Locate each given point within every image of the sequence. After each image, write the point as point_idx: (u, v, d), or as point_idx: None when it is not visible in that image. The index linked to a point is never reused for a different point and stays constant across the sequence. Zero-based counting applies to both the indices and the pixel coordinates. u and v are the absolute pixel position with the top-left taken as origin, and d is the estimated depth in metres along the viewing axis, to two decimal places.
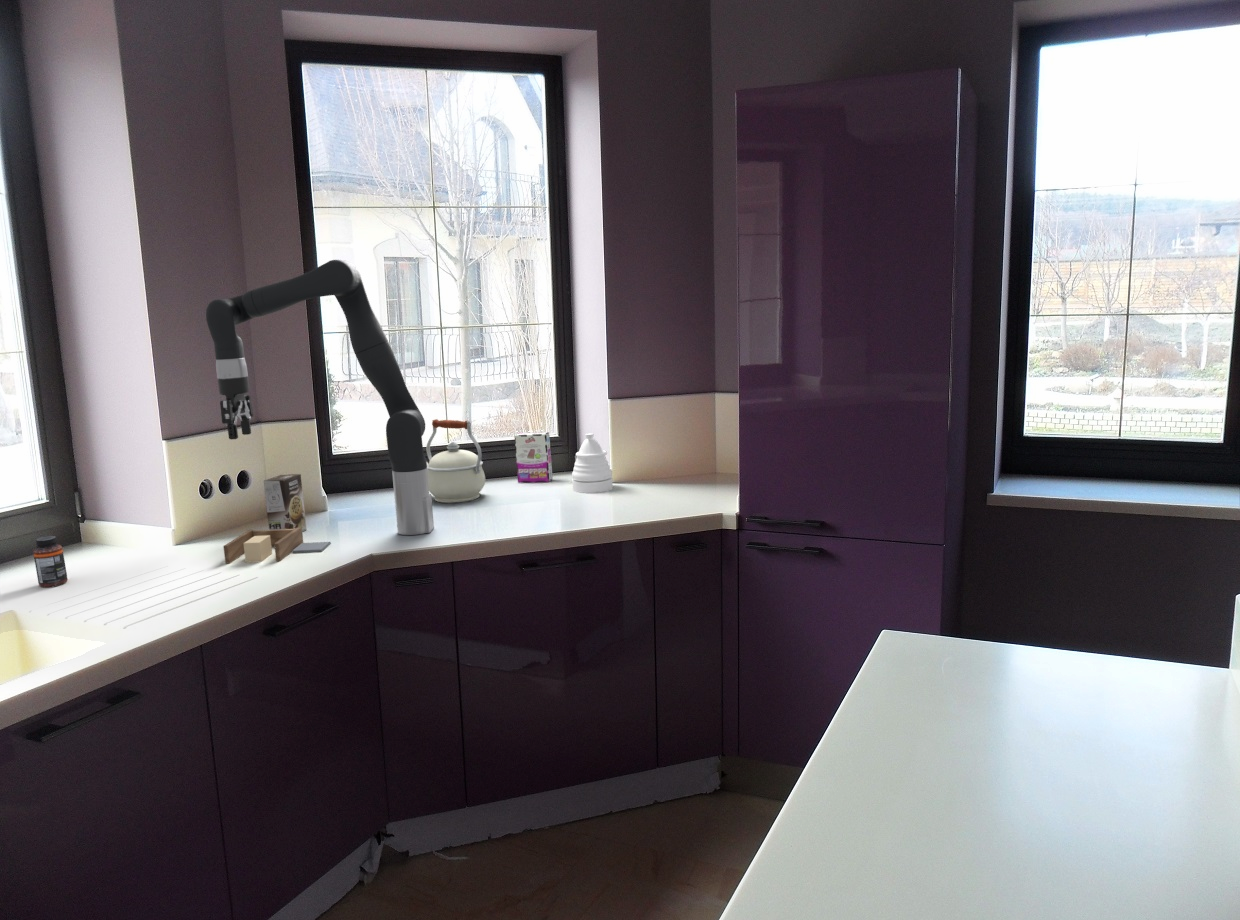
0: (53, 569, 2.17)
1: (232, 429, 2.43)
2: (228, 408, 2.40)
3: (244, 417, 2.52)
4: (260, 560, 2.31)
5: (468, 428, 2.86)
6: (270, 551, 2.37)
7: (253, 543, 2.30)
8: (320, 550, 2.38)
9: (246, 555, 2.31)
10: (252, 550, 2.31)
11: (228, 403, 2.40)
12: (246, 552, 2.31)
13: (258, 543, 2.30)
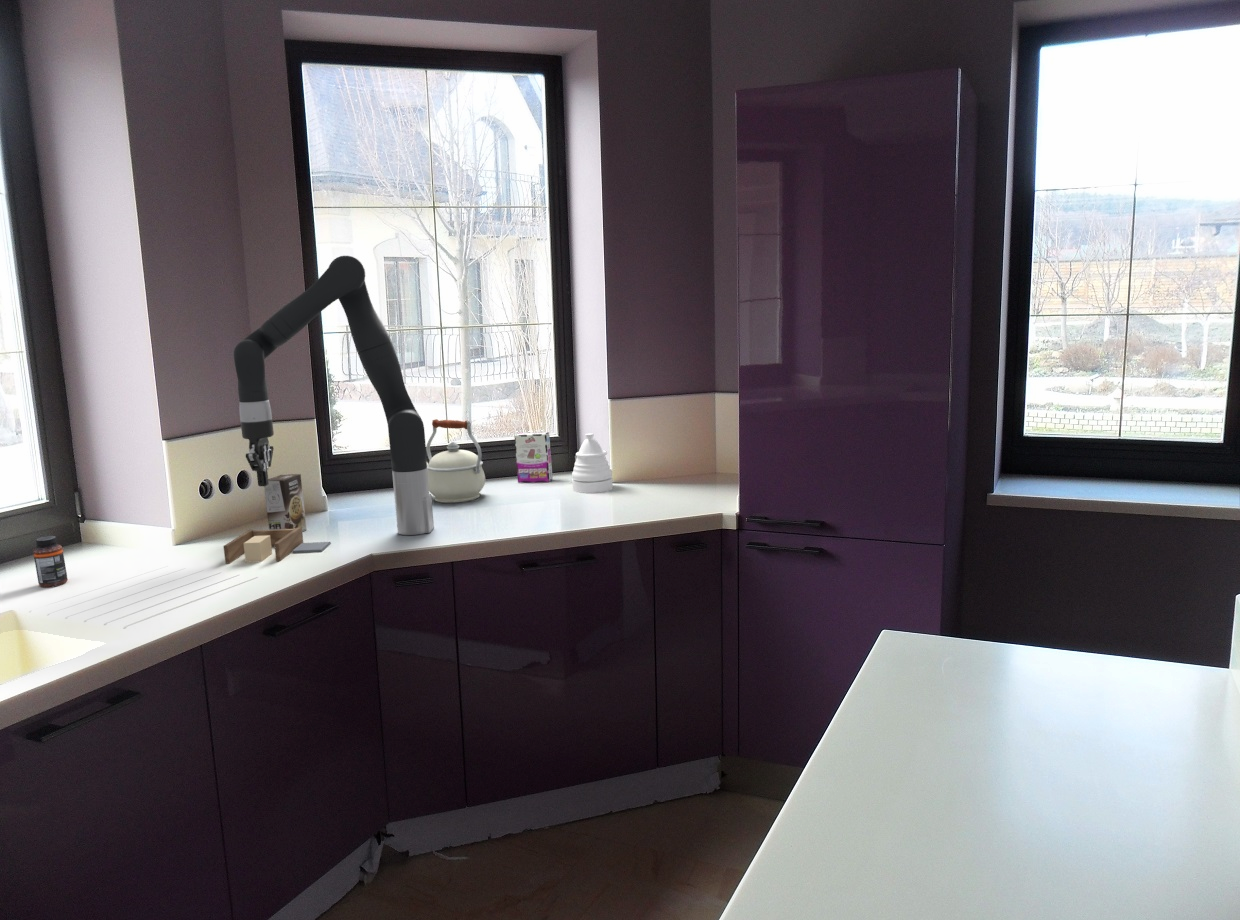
0: (53, 569, 2.17)
1: (262, 476, 2.38)
2: (256, 461, 2.33)
3: None
4: (260, 560, 2.31)
5: (468, 428, 2.86)
6: (270, 551, 2.37)
7: (253, 543, 2.30)
8: (320, 550, 2.38)
9: (246, 555, 2.31)
10: (252, 550, 2.31)
11: (254, 457, 2.32)
12: (246, 552, 2.31)
13: (258, 543, 2.30)
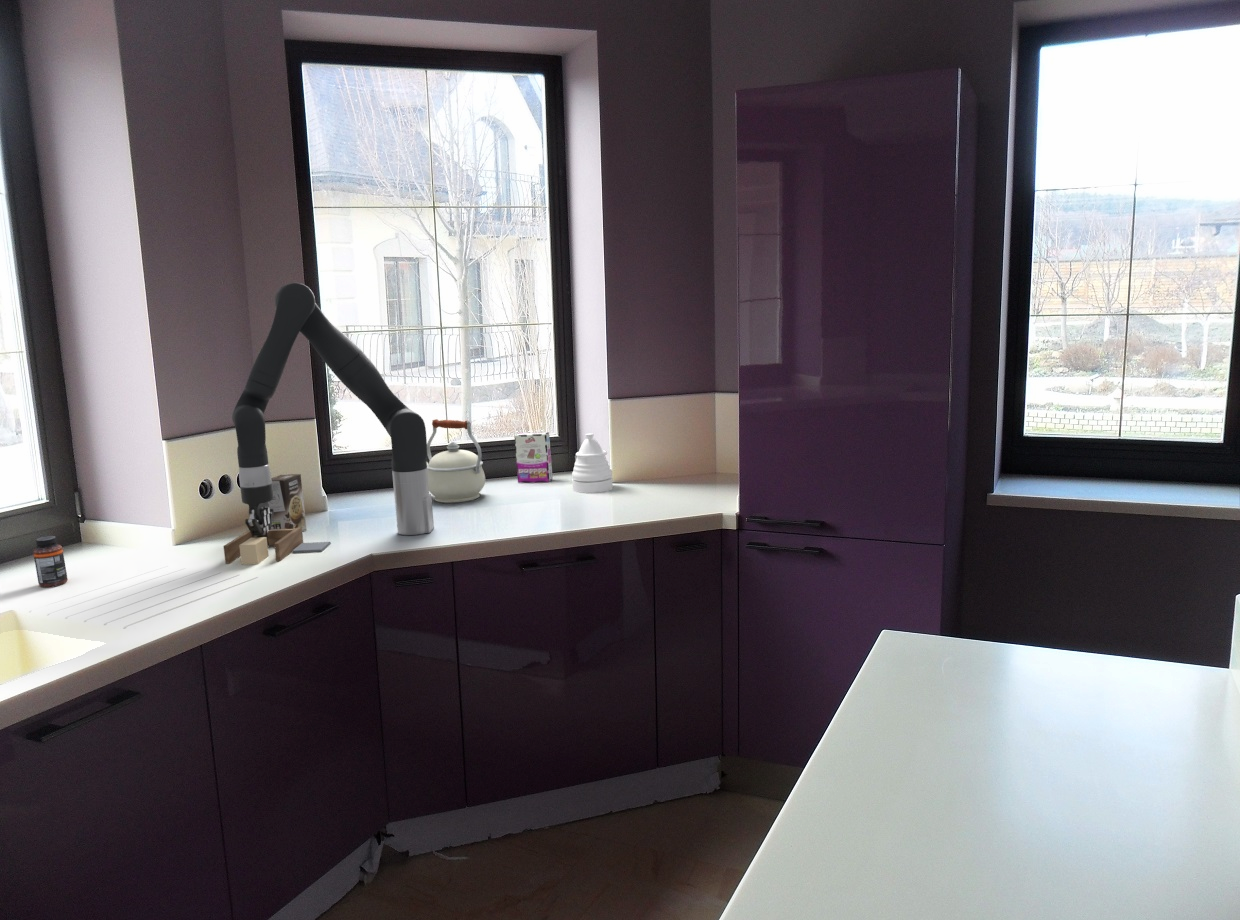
0: (53, 569, 2.17)
1: None
2: (255, 526, 2.32)
3: None
4: (256, 562, 2.29)
5: (468, 428, 2.86)
6: (266, 553, 2.35)
7: (249, 545, 2.28)
8: (320, 550, 2.38)
9: (242, 557, 2.29)
10: (248, 552, 2.28)
11: (254, 523, 2.31)
12: (242, 554, 2.28)
13: (254, 545, 2.28)
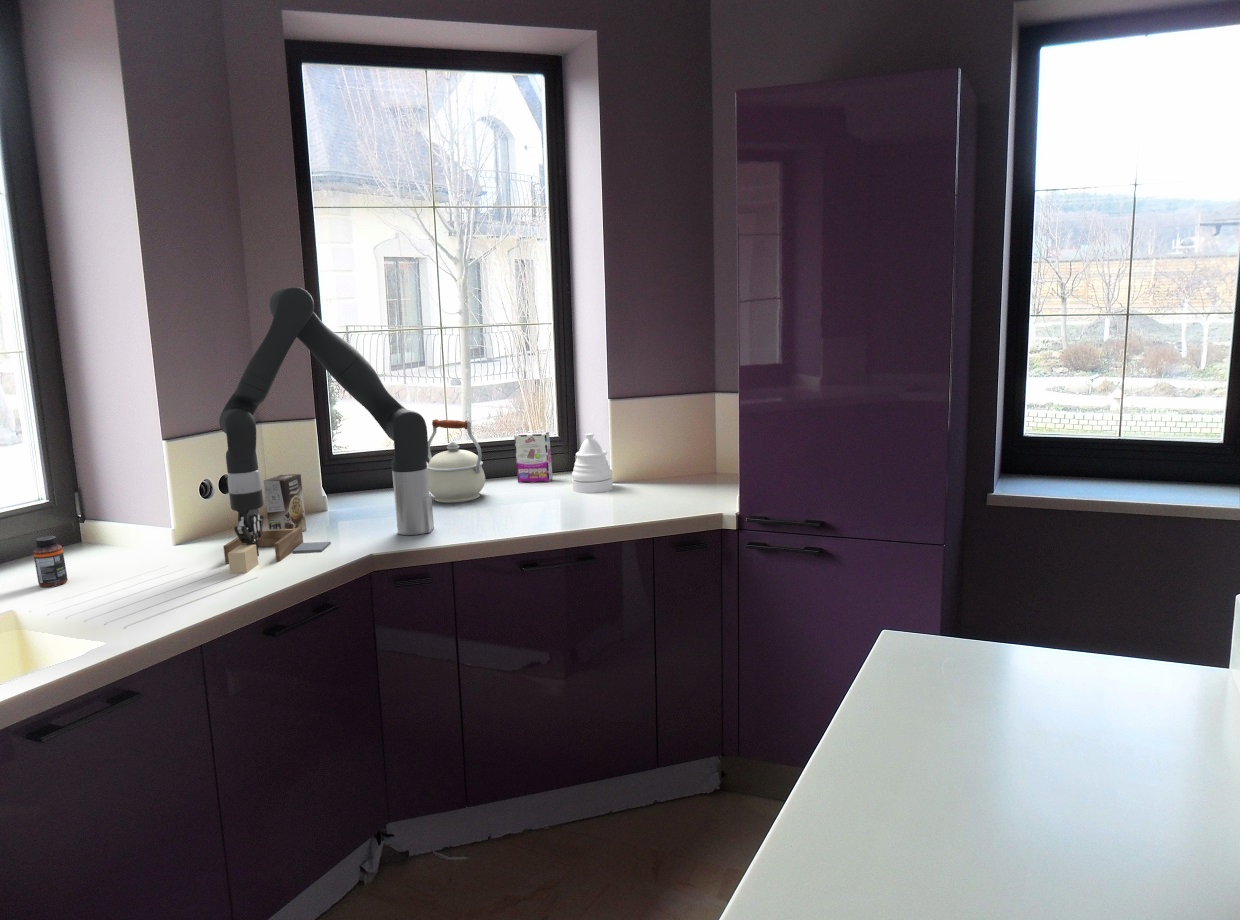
0: (53, 569, 2.17)
1: None
2: (245, 534, 2.25)
3: None
4: (245, 571, 2.22)
5: (468, 428, 2.86)
6: (256, 561, 2.28)
7: (238, 553, 2.21)
8: (320, 550, 2.38)
9: (230, 565, 2.21)
10: (237, 560, 2.21)
11: (243, 531, 2.24)
12: (230, 562, 2.21)
13: (243, 553, 2.21)
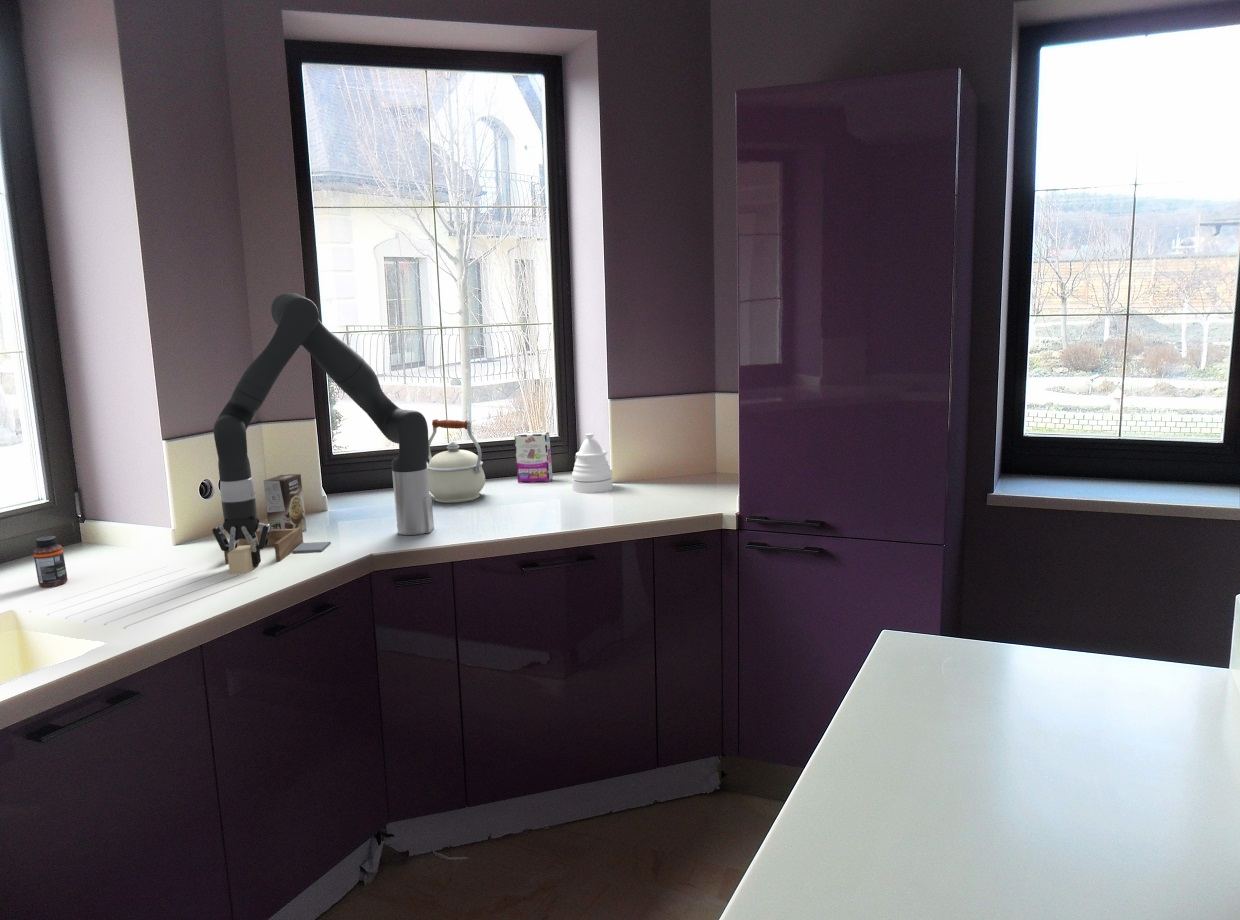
0: (53, 569, 2.17)
1: None
2: None
3: None
4: (245, 571, 2.22)
5: (468, 428, 2.86)
6: None
7: (237, 553, 2.21)
8: (320, 550, 2.38)
9: (230, 566, 2.21)
10: (236, 561, 2.21)
11: None
12: (230, 563, 2.21)
13: (243, 553, 2.21)
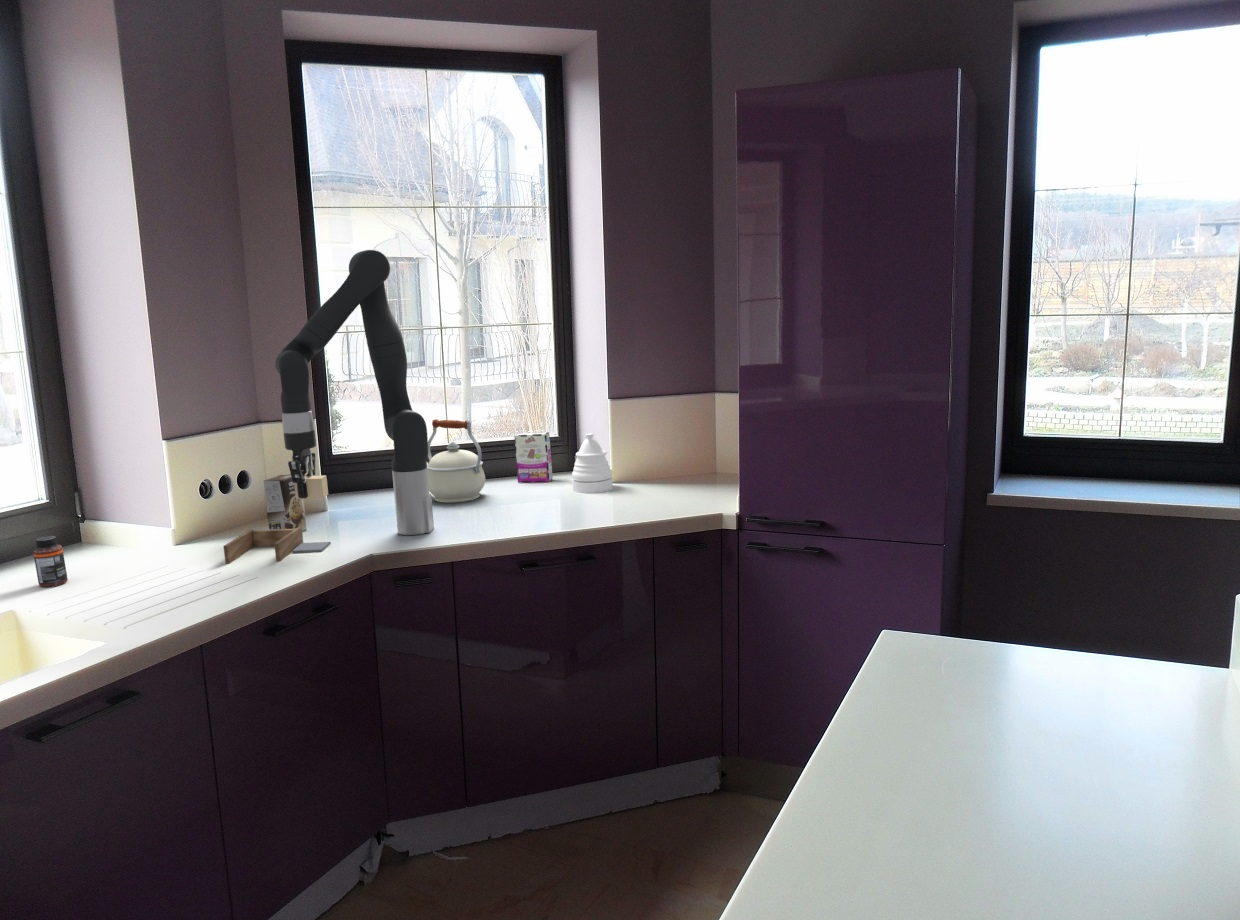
0: (53, 569, 2.17)
1: (302, 488, 2.35)
2: (298, 469, 2.31)
3: (307, 475, 2.40)
4: (327, 493, 2.40)
5: (468, 428, 2.86)
6: None
7: (324, 477, 2.38)
8: (320, 550, 2.38)
9: (323, 490, 2.37)
10: (324, 484, 2.38)
11: (297, 465, 2.31)
12: (323, 487, 2.37)
13: (325, 476, 2.40)
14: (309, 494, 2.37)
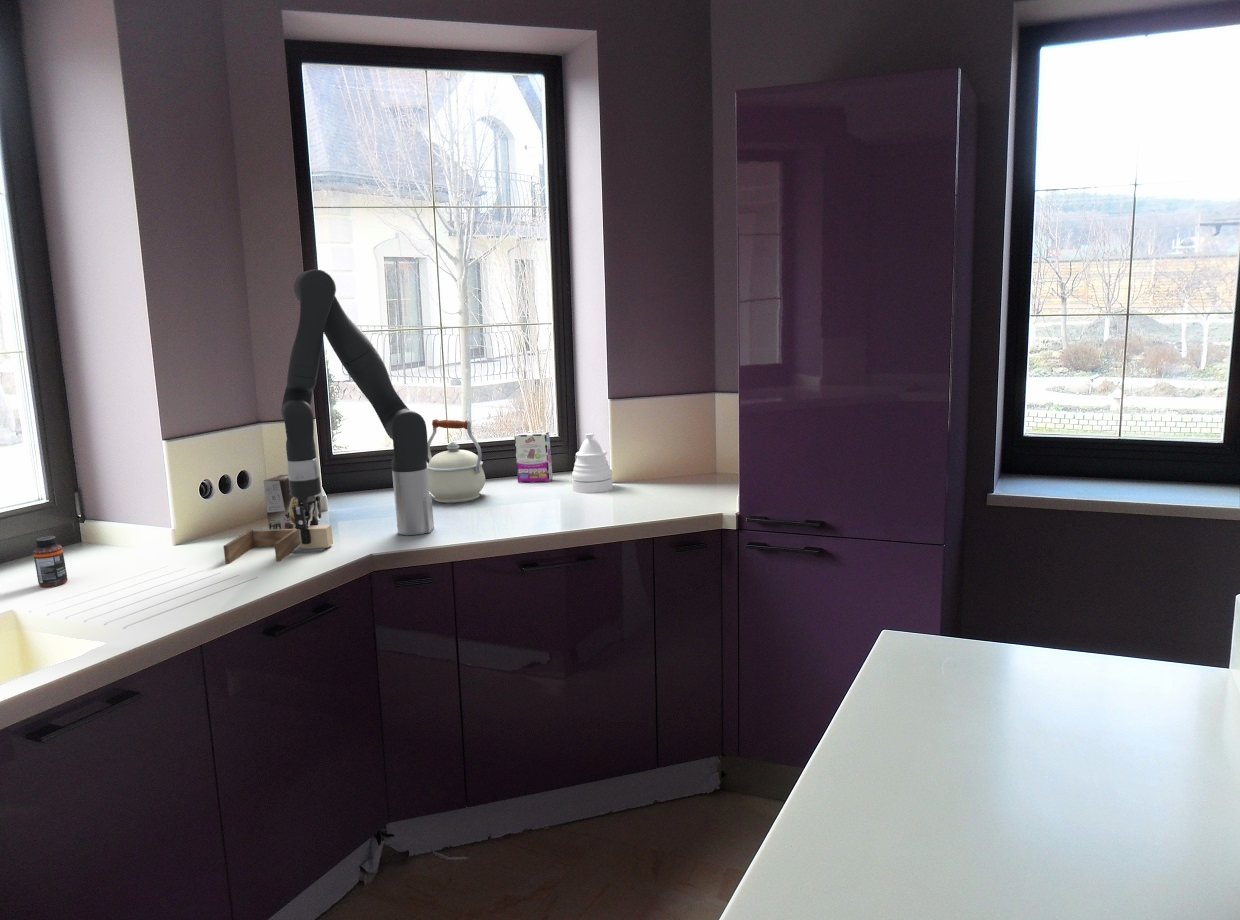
0: (53, 569, 2.17)
1: (305, 534, 2.36)
2: (302, 514, 2.33)
3: (313, 519, 2.43)
4: (332, 541, 2.43)
5: (468, 428, 2.86)
6: None
7: (328, 526, 2.41)
8: (320, 550, 2.38)
9: (328, 539, 2.39)
10: (329, 533, 2.41)
11: (301, 510, 2.33)
12: (327, 536, 2.39)
13: (330, 525, 2.42)
14: (314, 544, 2.39)
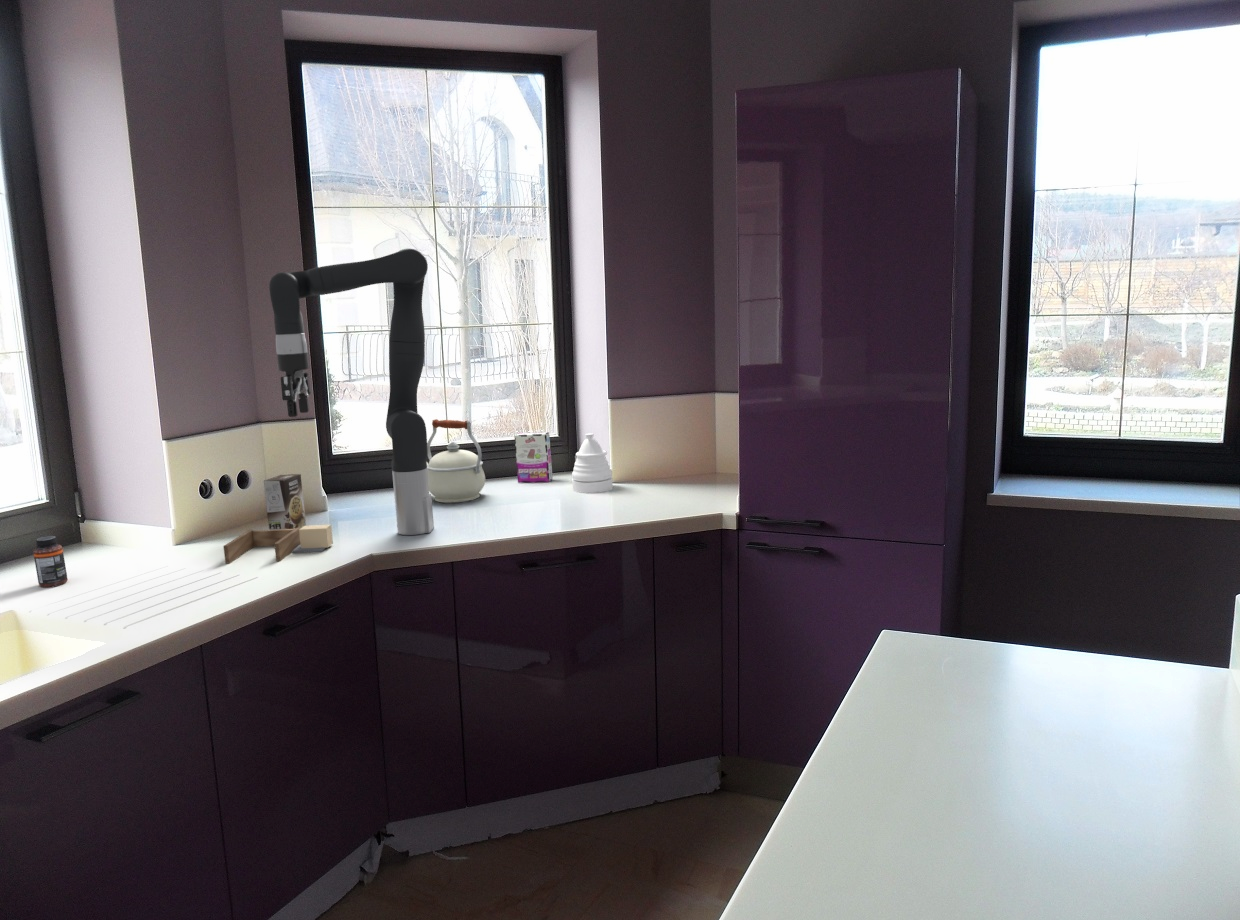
0: (53, 569, 2.17)
1: (292, 406, 2.37)
2: (289, 384, 2.34)
3: (302, 395, 2.46)
4: (332, 541, 2.43)
5: (468, 428, 2.86)
6: None
7: (328, 526, 2.41)
8: (320, 550, 2.38)
9: (328, 539, 2.39)
10: (329, 533, 2.41)
11: (289, 379, 2.34)
12: (327, 536, 2.39)
13: (330, 525, 2.42)
14: (314, 544, 2.39)
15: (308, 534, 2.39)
